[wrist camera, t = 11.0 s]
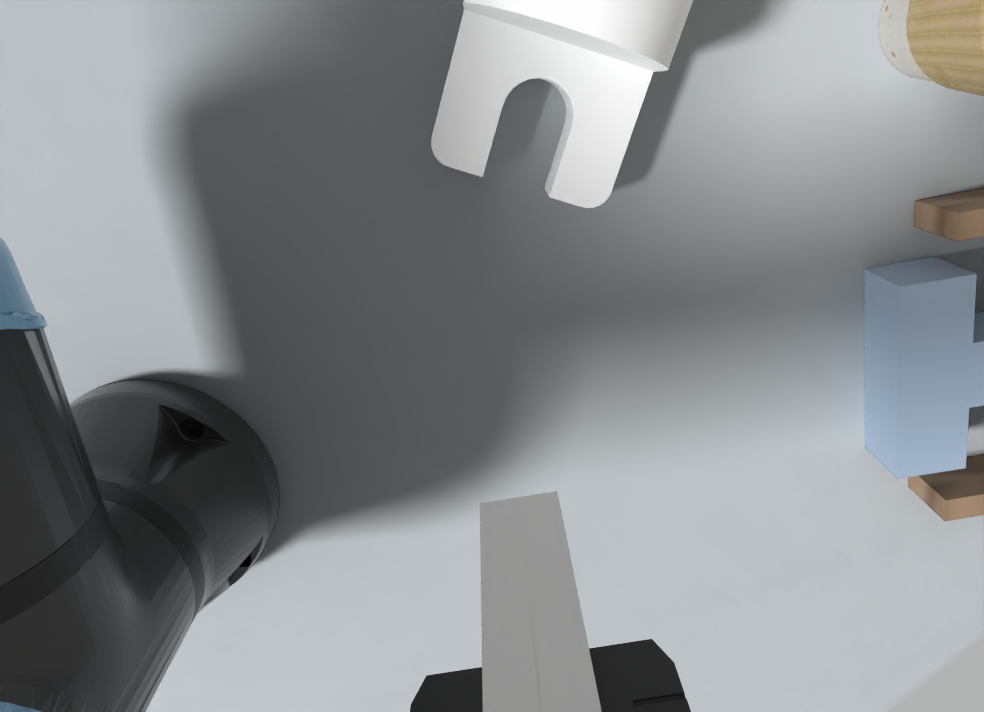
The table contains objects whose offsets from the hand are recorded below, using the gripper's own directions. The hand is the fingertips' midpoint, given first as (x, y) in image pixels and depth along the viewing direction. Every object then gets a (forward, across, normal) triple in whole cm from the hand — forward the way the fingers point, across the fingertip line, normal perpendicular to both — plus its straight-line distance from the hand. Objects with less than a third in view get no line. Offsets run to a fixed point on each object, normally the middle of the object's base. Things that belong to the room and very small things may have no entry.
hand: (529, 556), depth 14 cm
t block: (+29, +26, -11) cm, 41 cm away
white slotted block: (+30, +6, +11) cm, 32 cm away
